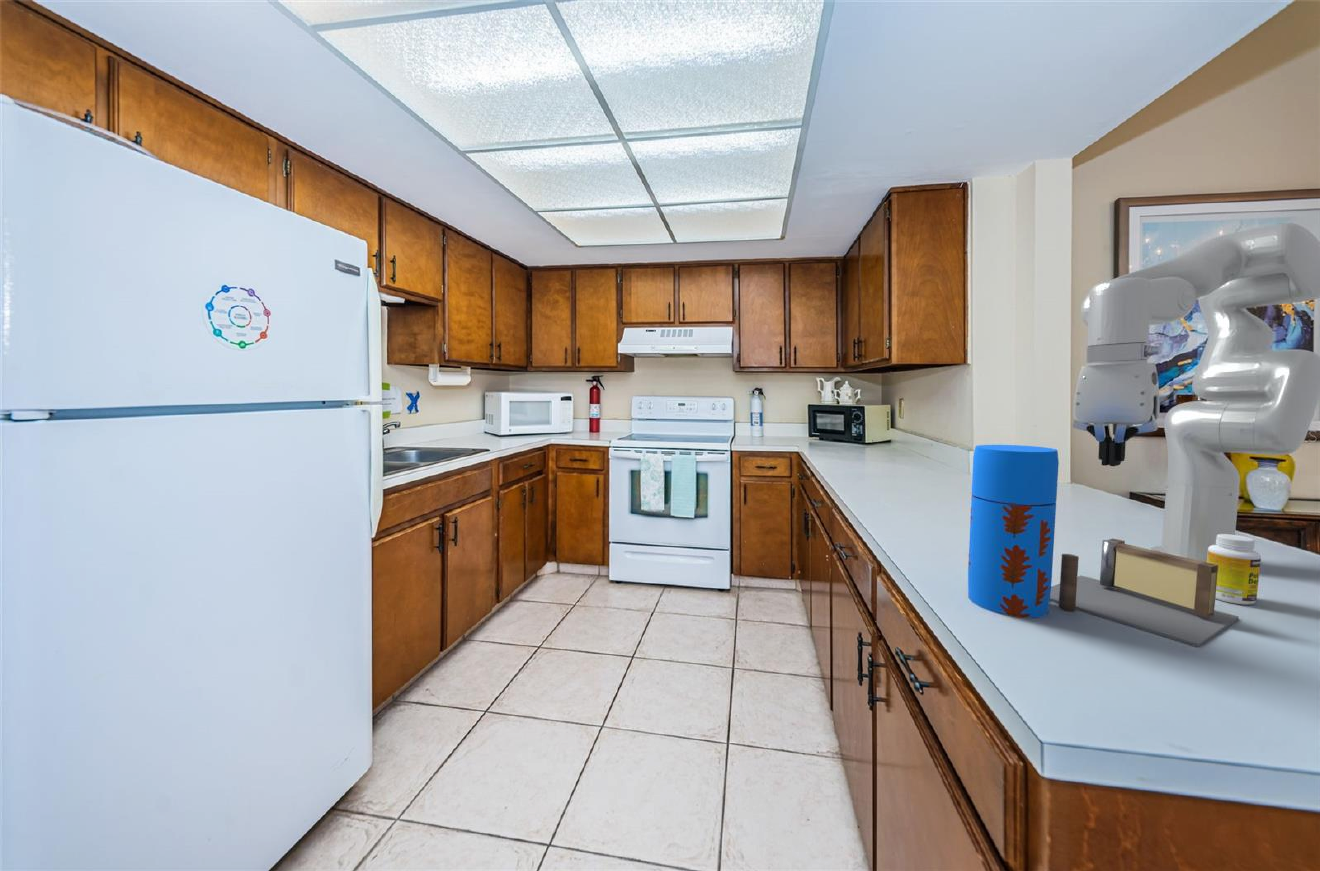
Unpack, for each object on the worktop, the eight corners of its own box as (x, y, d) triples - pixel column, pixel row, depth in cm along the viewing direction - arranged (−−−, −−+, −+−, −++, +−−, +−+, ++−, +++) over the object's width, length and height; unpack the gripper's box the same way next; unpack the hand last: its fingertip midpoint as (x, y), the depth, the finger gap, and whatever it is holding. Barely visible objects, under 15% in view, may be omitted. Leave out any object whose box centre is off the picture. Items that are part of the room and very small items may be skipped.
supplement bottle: (1253, 609, 76) (1259, 544, 75) (1200, 597, 80) (1205, 535, 80) (1259, 600, 79) (1265, 538, 78) (1207, 589, 84) (1213, 530, 83)
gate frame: (1080, 577, 89) (1083, 532, 89) (1238, 619, 73) (1243, 563, 72) (1027, 598, 80) (1029, 548, 80) (1192, 650, 64) (1198, 588, 63)
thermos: (969, 585, 86) (975, 443, 84) (1046, 599, 80) (1055, 446, 78) (964, 607, 77) (972, 449, 75) (1051, 625, 71) (1062, 453, 69)
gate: (1096, 583, 84) (1099, 540, 83) (1104, 582, 84) (1107, 539, 84) (1206, 617, 71) (1210, 566, 70) (1214, 615, 72) (1218, 565, 71)
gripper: (1187, 352, 77) (1180, 467, 79) (1071, 359, 90) (1067, 458, 92) (1171, 352, 74) (1164, 473, 75) (1052, 359, 86) (1048, 462, 88)
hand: (1111, 464), depth 84 cm, fingers closed
